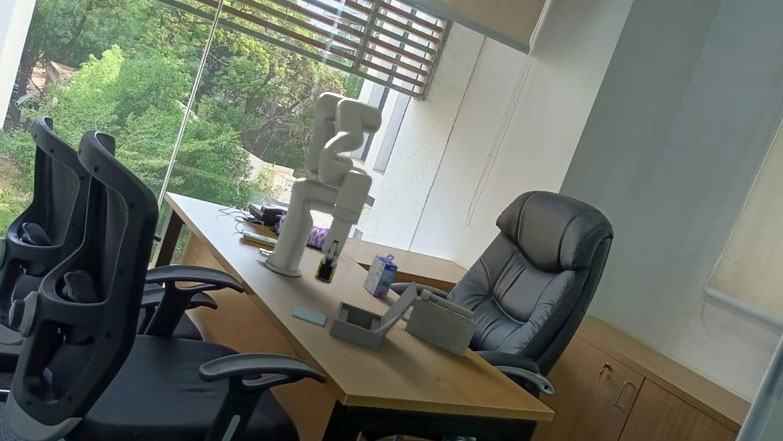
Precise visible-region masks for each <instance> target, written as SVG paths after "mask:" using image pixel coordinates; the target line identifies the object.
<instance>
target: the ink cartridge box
mask: <svg viewBox="0 0 783 441" xmlns="http://www.w3.org/2000/svg"><path fill="white" fill-rule="evenodd" d="M394 259H395V256H394V255H392V254H391V253H389V254H388V255H387V256H386V257H384V256H381V255H374V257H373V260H372V262H371V264H370V268H368V272H367V275H366V277H365V280H364V283H363V285H362V286H363V287H364V289H366V290H367V291H368V292H369V293H370V294H371V295H372V296H374V297H377V298H381V299H384V300H385V299H386V298H387V296H388V293H389V292H390V288H391V285H392V283H393V281H394V278H395V276H396V273H397V270H398V266H397V265H396V264H395V263H393V260H394Z"/></svg>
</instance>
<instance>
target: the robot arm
mask: <svg viewBox="0 0 783 441" xmlns="http://www.w3.org/2000/svg"><path fill="white" fill-rule="evenodd" d="M313 111H314V112H313V114H314V116H313V132H312V136H311V139H310V143H309V147H308V150H307V153H306V157H305V161H304V169H305V172H307V173H308V174H310V175H313V176H315V177H318V179H319V180H316V179H313V178H309V177H300V178H297V179H296V180H295V181H294V182H293V184H292V188H291V191H290V197H289V198H290V199H289V202H288V203H289V204H288V207H287V211H286V213H285V214H286V216H285V219H284V222H283V225H282V228H281V231H280V234H278V238H277V240H276V243H275V245H274V246H275V247H274V249H273V250H269V251H268V250H266V249H264V248H260V249H259V251H258V254H259V255H260V256H261V257H263V258H267V259H265V261H264V266H266V267H267V268H268V269H269V270H271V271H274V272H276V273H278V274H281V275H285V276H290V277H299V276H301V275H302V273H303V272H302V270H301V268H299V267H300V264H301V261H302V259H303V256H304V253H305V250H306V247H307V245H308V244H307V242H308V239H309V236H310V233H311V230H312V227H313V226H314V218H313V216H312V214H311V211H317V212H320V213H323V214H326V215H330V216H331V218H333V220H332V222H331V225H330V228H329V229H330V230H329V233H328V235H327V238H326V241H325V244H324V247H323V249H321V252H322V253H323V254H324V253H325V252H327V253H326V257H325V259H324V262H323V263H322V265H321V268H320V271H319V274H318V277H319V278H321V279H324V280H327V281H328V280H329V278H330V275H331V273H332V270H333V264H334V261H335V259H336V257H338V258H340V255H341V253H342V252H343V249H344V247H345V245H346V243H347V240H348V239H349V238H348V237H349V236H350V233H351V230H352V226H353V225H354V226H358V223H359V221H360V217H361V214H362V212H363V209H364V206H365V204H366V201H367V198H368V195H369V192H370V190H371V187H372V184H373V177H372V176H370V175H369V174H368V172H367V171H366V170H365V169H363V168H360V167H357V166H354V162H353V160H352V158H351V157H350V156H348V155H346V154H345V153H350V152H355V151H357V150H360V148H361V147H363V145H364V142H365V141H364V140H365V138H364V135H365V134H367V135H375V134H376V133H377V132H379V130H380V128H381V126H382V123H383V117H382V116H383V115H382V112H381V110H380V109H379V108H378V107H376V106H374V105H371V104H369V103H366V102H363V101H361V100H357V99H355V98H350V97H346V96H344V95H340V94H339V93H335V92H330V91H329V92H323V93H321V94H320V95H319V96H318V99H317V100H316V103H315V106H314V110H313ZM364 133H365V134H364ZM328 252H330V253H328ZM334 253H335V254H336V255H335V256H334ZM333 258H334V259H333Z"/></svg>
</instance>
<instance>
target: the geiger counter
mask: <svg viewBox="0 0 783 441" xmlns="http://www.w3.org/2000/svg"><path fill="white" fill-rule="evenodd" d="M411 307H412V310H411V313H410V315H409V317H406V316H404V317H403V319H401V321H403V322H405V323H406V325H405V327H404V331H406V332H408V333H410V334H412V335H414V336H417V337H419V338H420V339H423V340H425V341H427V342H429V343H431V344H432V345H433V344H434V345H436V346H438V347H440V348H442V349H444V350H447V351H448V352H451V353H453V354H455V355H457V356H459V357H462V358H463V357H465V356H466V353H467V351H468V348H469V345H470V344H471V341H472V338H473V335H474V334H475V331H476V329H477V326H478V322H477V317H476V316H475V312H474V311H472V310H470V309H468V308H465V307H463V306H461V305H458V304H456V303H454V302H452V301H449V300H447V299H445V298H443V297H441V296H438V295H436V294H434V293H433V292H432V291H431V290H430V291H429V290H427V289H425V288H424V289H422V291H421V293H420V296H419V297H418V296H417V300H416V301H415V302H414V303H413V305H412V306H411ZM473 318H474V320H473Z"/></svg>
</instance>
